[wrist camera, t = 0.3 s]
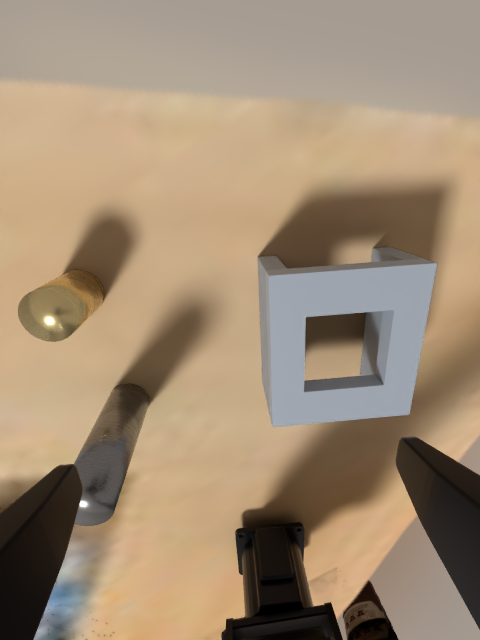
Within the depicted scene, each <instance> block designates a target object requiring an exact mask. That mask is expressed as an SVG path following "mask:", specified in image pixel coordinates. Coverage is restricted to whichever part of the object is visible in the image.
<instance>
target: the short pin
mask: <svg viewBox="0 0 480 640" xmlns="http://www.w3.org/2000/svg"><path fill="white" fill-rule="evenodd" d="M103 300H104V290H103V287H102V285H101V283H100V281H99V280H98V279H97V278H96V277H95V276H93V275H92V274H90V273H88V272H86V271H82V270H72V271H69V272H67V273H65V274H63V275H61V276H59V277H58V278H56V279H54V280H52V281H50V282H48V283H46V284H45V285H43V286H41V287H39V288H37V289H35V290H34V291H32V292H30V293H28V294H27V295H25V296H24V297H23V298H22V299H21V301H20V303H19V307H18V316H19V319H20V321H21V323H22V325H23V326H24V328H25V329H26V330H27V331H28V332H29V333H30V334H32V335H33V336H35V337H37V338H39V339H41V340H44V341H51V342H56V341H61V340H64V339H66V338H68V337H69V336H70V335H71V334H72V333H73V332H74V331H75V330H76V329H77V328H79V327H80V326H81V325H82V324H83V323H84V322H85V321H86V320H87V319H88V318H89V317H90V316H91V315H92V314H93V313H94V312H95V311H96V310H97V309H98V308H99V307H100V306H101V304H102V303H103Z"/></svg>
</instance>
